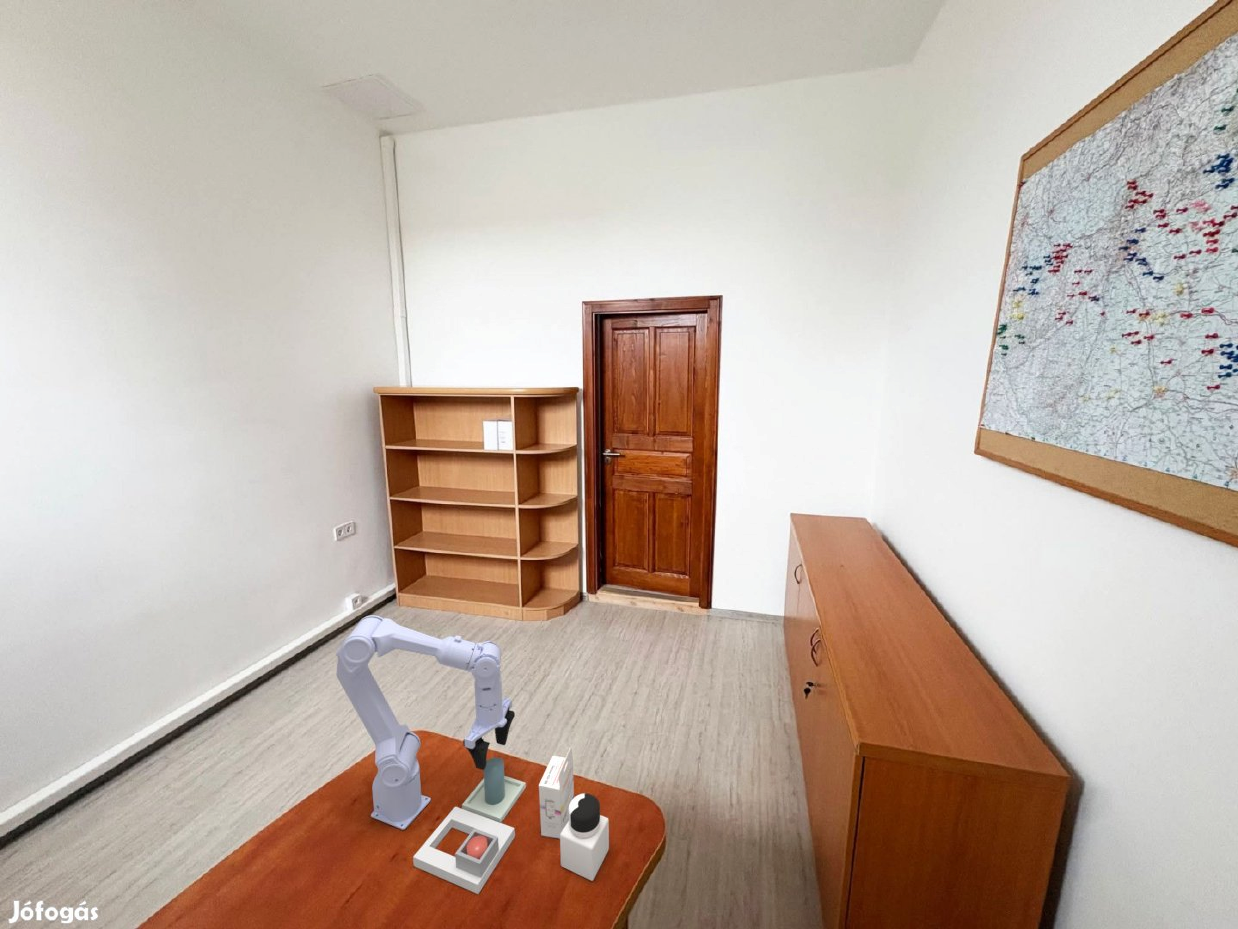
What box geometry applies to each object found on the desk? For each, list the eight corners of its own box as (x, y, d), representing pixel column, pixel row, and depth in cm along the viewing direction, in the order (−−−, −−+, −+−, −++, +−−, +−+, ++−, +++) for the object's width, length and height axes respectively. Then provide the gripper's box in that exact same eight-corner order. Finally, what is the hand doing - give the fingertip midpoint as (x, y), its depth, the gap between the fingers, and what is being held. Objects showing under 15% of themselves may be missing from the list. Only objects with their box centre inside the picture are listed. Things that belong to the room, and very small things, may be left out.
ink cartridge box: (553, 801, 104) (551, 742, 102) (574, 805, 103) (573, 745, 101) (539, 836, 96) (537, 772, 94) (562, 840, 95) (560, 776, 93)
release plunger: (463, 863, 88) (462, 850, 87) (475, 845, 91) (475, 833, 91) (479, 870, 86) (479, 857, 86) (492, 852, 90) (491, 839, 90)
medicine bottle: (609, 849, 93) (608, 795, 91) (592, 882, 86) (591, 825, 85) (578, 835, 96) (577, 783, 94) (560, 866, 89) (558, 811, 88)
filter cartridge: (480, 801, 103) (479, 769, 102) (492, 786, 108) (491, 755, 107) (497, 807, 102) (496, 774, 101) (508, 791, 106) (507, 760, 105)
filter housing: (413, 866, 90) (412, 843, 89) (455, 814, 101) (454, 794, 100) (478, 894, 84) (476, 870, 84) (514, 836, 96) (513, 815, 95)
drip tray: (462, 809, 102) (462, 804, 102) (489, 775, 111) (489, 771, 111) (500, 823, 99) (500, 818, 98) (525, 787, 108) (525, 782, 108)
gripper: (483, 725, 94) (486, 785, 96) (522, 684, 107) (524, 738, 109) (455, 717, 96) (458, 775, 98) (496, 678, 110) (499, 730, 112)
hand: (491, 755), depth 104 cm, fingers open, 7 cm apart
